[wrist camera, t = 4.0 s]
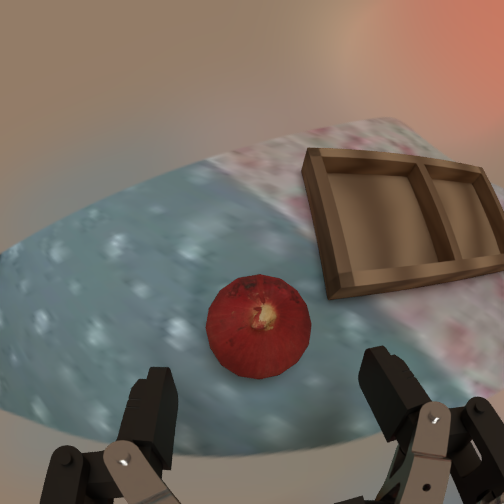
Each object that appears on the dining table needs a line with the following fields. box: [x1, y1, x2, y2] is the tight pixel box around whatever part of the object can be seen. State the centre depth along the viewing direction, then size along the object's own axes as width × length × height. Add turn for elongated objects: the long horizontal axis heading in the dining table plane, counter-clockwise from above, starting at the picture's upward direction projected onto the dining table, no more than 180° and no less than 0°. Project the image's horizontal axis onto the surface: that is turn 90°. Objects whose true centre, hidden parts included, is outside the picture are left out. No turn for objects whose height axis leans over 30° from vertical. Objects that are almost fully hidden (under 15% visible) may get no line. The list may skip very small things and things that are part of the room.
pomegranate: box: [206, 274, 311, 379], centre depth 15 cm, size 6×6×8 cm
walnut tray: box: [301, 148, 504, 300], centre depth 22 cm, size 23×12×3 cm, turn 95°
